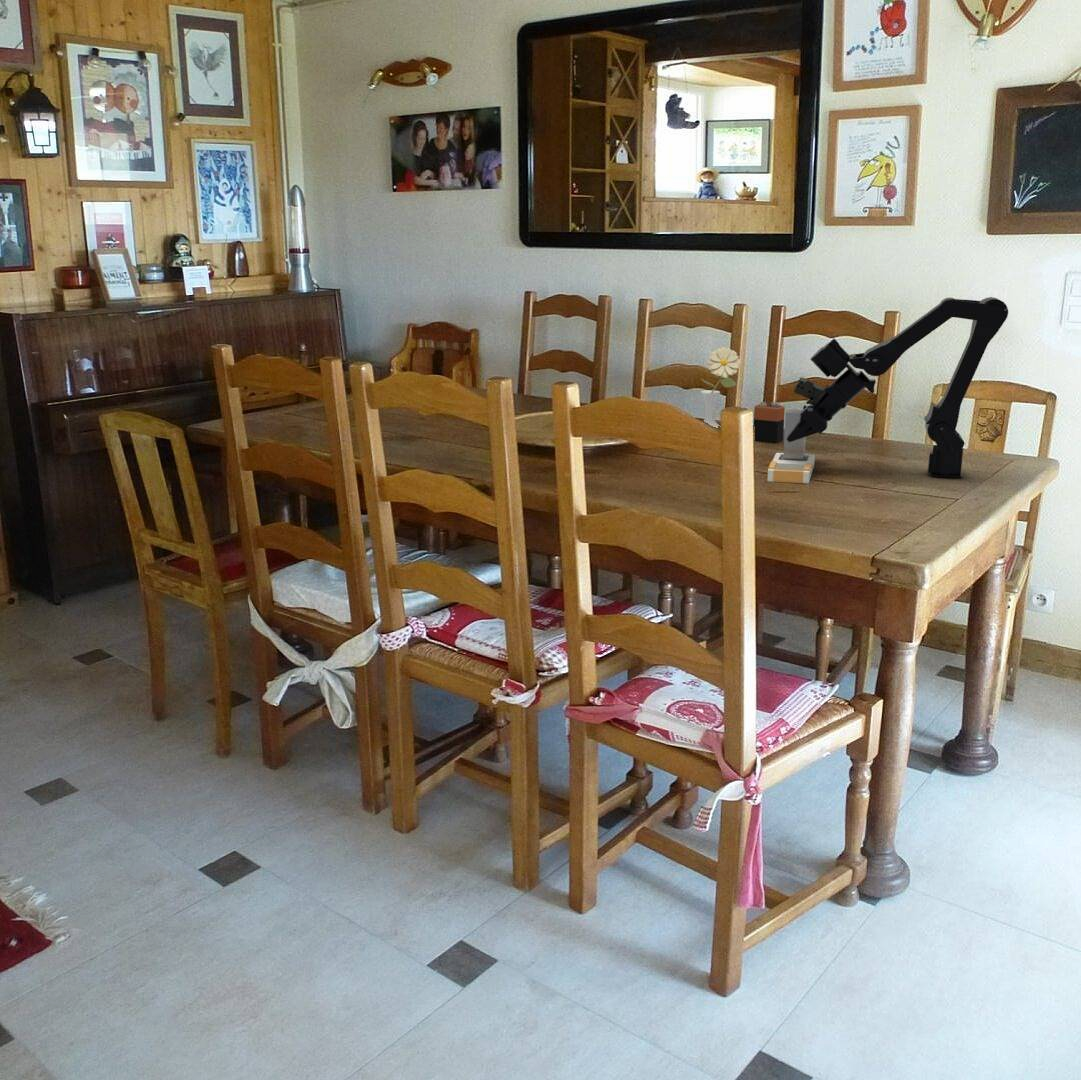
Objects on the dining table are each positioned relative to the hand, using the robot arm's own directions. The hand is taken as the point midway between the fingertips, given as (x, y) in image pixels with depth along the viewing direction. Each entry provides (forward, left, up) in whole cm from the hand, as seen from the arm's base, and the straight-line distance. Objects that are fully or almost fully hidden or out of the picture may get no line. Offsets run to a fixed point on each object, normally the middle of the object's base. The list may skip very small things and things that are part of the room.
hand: (788, 438), depth 246 cm
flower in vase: (+21, -21, -7) cm, 30 cm away
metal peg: (-1, 0, -7) cm, 7 cm away
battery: (+8, -31, -7) cm, 33 cm away
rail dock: (-1, +5, -7) cm, 9 cm away
